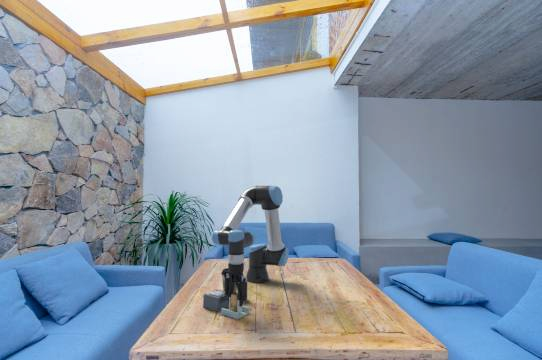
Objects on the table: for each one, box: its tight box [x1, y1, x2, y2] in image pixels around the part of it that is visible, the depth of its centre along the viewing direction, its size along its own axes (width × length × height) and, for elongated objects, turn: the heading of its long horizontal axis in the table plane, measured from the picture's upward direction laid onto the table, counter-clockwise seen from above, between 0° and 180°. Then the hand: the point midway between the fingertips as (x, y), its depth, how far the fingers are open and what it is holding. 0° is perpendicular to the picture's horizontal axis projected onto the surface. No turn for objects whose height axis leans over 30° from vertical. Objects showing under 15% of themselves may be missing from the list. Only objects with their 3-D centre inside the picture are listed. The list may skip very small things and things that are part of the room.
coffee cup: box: [221, 267, 238, 293], centre depth 174 cm, size 10×10×15 cm
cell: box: [231, 291, 239, 312], centre depth 150 cm, size 4×4×10 cm
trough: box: [220, 305, 251, 320], centre depth 151 cm, size 9×10×3 cm
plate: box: [208, 289, 226, 298], centre depth 160 cm, size 6×6×2 cm
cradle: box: [202, 288, 229, 313], centre depth 160 cm, size 10×10×6 cm
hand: (235, 311), depth 151 cm, fingers open, 4 cm apart
